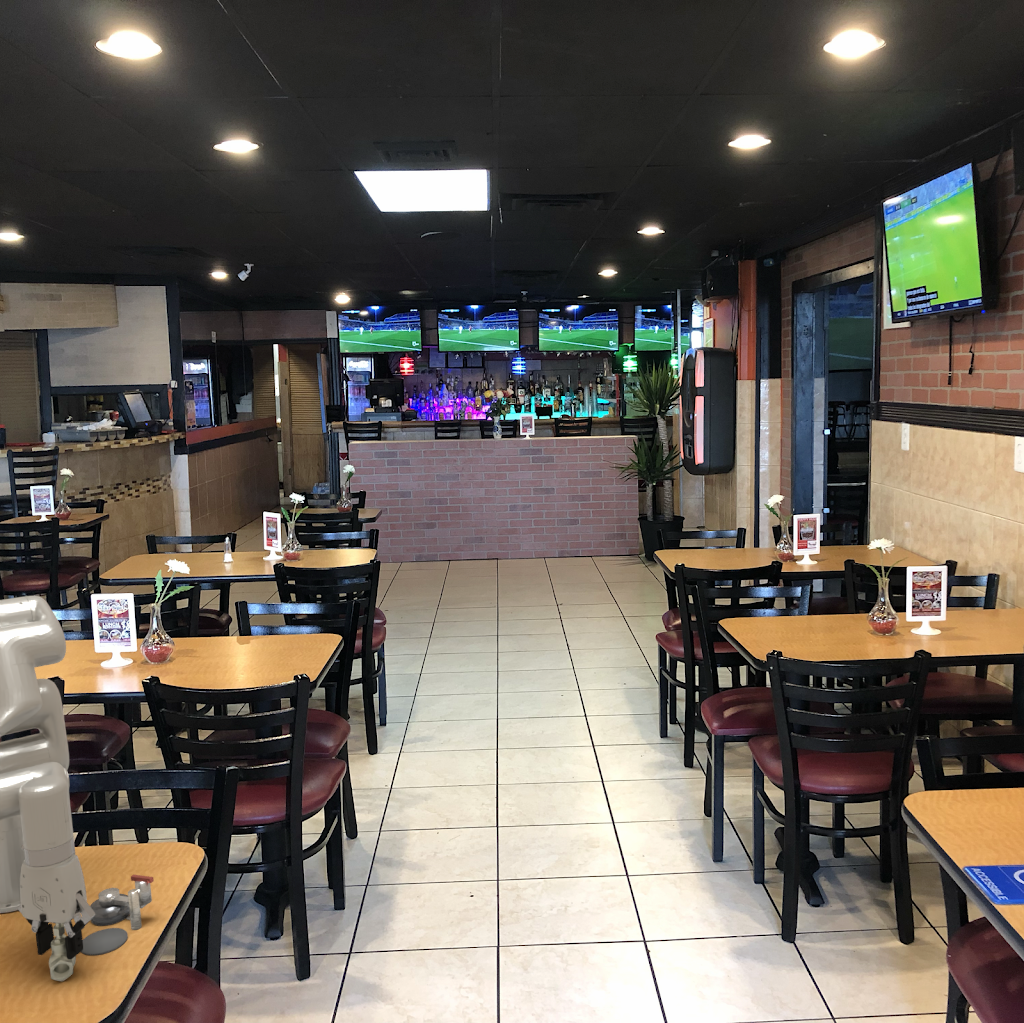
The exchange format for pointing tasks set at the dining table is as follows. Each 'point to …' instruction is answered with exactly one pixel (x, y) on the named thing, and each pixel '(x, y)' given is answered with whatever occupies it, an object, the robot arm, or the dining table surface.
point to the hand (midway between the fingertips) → (60, 951)
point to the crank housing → (118, 912)
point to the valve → (59, 954)
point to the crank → (114, 898)
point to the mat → (104, 941)
